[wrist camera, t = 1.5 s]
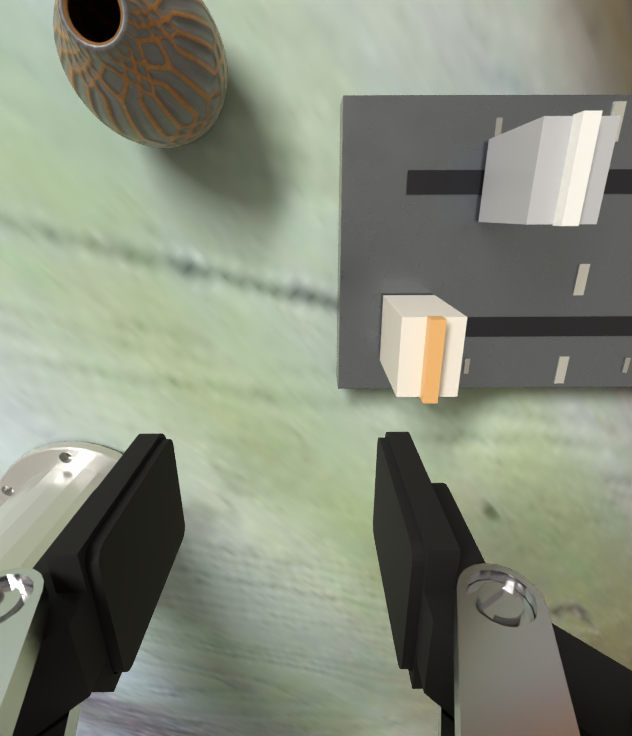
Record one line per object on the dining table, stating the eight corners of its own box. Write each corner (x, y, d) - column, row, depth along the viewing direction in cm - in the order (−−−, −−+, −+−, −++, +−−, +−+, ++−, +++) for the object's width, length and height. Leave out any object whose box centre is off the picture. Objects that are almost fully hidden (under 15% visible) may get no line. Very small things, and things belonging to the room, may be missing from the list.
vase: (263, 106, 23) (235, 46, 14) (165, 181, 24) (88, 165, 16) (183, -29, 21) (96, -190, 12) (81, 61, 22) (-59, -31, 14)
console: (686, 374, 28) (713, 386, 26) (336, 376, 28) (338, 389, 26) (776, 104, 23) (820, 94, 21) (340, 105, 23) (343, 95, 21)
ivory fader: (428, 360, 25) (461, 403, 20) (379, 361, 25) (398, 403, 20) (435, 294, 24) (472, 319, 18) (383, 294, 24) (404, 319, 18)
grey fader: (533, 222, 23) (606, 225, 17) (478, 222, 23) (533, 226, 17) (547, 137, 21) (633, 110, 15) (489, 138, 21) (553, 110, 15)
